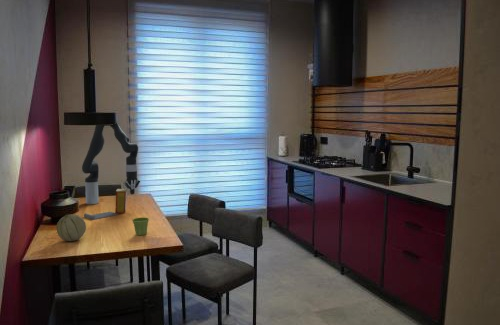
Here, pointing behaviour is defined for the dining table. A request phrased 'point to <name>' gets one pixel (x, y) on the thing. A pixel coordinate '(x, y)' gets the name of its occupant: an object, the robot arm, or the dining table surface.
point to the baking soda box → (121, 200)
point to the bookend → (99, 215)
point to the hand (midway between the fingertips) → (132, 194)
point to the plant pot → (140, 225)
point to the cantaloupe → (71, 227)
